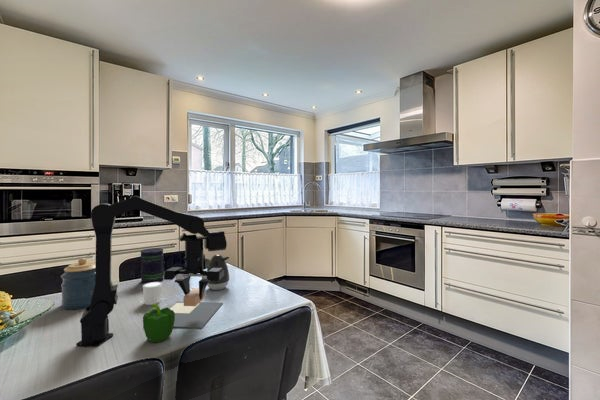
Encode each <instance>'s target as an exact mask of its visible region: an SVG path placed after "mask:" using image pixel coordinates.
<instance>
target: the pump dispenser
mask: <svg viewBox="0 0 600 400" xmlns="http://www.w3.org/2000/svg"><path fill="white" fill-rule="evenodd" d="M229 259H230V256H225V257H224V256H223V255H222V254H214V255H213V256H212V257H211V258H210V259H209V260H210V265H209V269H206V271H209V270H210V269H212V268H223V270H224V276H223V277H222V278H221V279H220V280H218V281H209V282H208V284H207V286H206V287H208V289H210V290H213V291H220V290H223V289H225V288H226V287H227V286H228V284H229V281H230V272H229V271H230V270H229V267H228V265H227V262H226V261H228V260H229Z"/></svg>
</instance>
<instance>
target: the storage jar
mask: <svg viewBox="0 0 600 400" xmlns="http://www.w3.org/2000/svg"><path fill="white" fill-rule="evenodd" d="M140 264H141V270H140V280H141V281H140V283H141V284H142V285H144V284H147V283H151V282H161V281H162V282H163V281H165V280H164V272H165V271H164V249H163V248H160V247H158V248H155V247H154V248H153V247H152V248H144V249H141V250H140ZM162 282H161V283H162Z"/></svg>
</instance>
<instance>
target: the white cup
mask: <svg viewBox="0 0 600 400" xmlns="http://www.w3.org/2000/svg"><path fill="white" fill-rule="evenodd" d="M162 287H163V282H151V283H147V284H142V292H143V300H144V301H143V302H144V304H145V305H148V306H151V304H157V305H158V304H159V303H160V302H162V289H163V288H162Z"/></svg>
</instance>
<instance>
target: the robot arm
mask: <svg viewBox="0 0 600 400" xmlns="http://www.w3.org/2000/svg"><path fill="white" fill-rule="evenodd" d="M135 210H136V211H140V212H142V213H145V214H147V215H149V216H150V215H151V216H153V217H156V218H159V219H161V220H165V221H167V222H170V223H173V224H175V225H176V226H178V227H180V228H181V229H183V230H184V231H187V232H188V233H190V234H186V233H185V232H183V233H182V235H180V236H179V237H178V240H179V242H184V249H185V250H184V255H185V256H184V257H183V261H184V263H185V264H184V265H185V267H184V268H185V269H184V268H183V267H182V266H175V267H174V266H173V267H170V268H168V269H166V270H165V271H163V272H164V275H163V276H164V277H163V278H164V280H163V281H165V280H169V281H171V280H174V279H175V280H174V283H177V285H178V286H179V287H180V289H181V290H182V291H183V294H184V296H185V295H186V294H188V293H189V292H190V291H191V290H190V288H191V287H190V286H191V285H190V281H191V277H201V279H200V280H199V281H198V289H199V297H200V299H202V298H203V295H204V292H205V293H206V288H207V287H208V286H207V284H208V282H209V281H218V280H220V279H221V278H222V277H223V276H224V270H223V268H212V269H210V270H209V271H207V269H209V265H210V260H211V259H209V258H206V255H205V253H204V249H205V250H207V251H208V252H217V251H226V249H227V245H228V244H227V243H228V242H227V238H226V235H225V233H226V232H225V231H224V230H217V231H209V230H208V229H207V228H206V227H205V222H204V220H203V218H201V217H200V216H198V215H194V214H190V213H184V212H179V211H176V210H172V209H170V208H167V207H165V206H163V205H159V204H157V203H155V202H151V201H149V200H147V199H144V198H142V197H140V196H138V195H134V196H131V197H130V198H127V199H123V200H121V201H117V202H115V203H111V204H110V203H107V202H105V203H100V204H98V205H96V206H93V208H92V209H91V212H90V218H91V225H92V227H93V232H94V234H95V262H96V266H95V287H94V291H93V295H92V299H91V303H90V305H89V306H88V307H86V308H84V311H83V313H82V316H81V317H80V320H79V323H80V329H81V330H80V333H81V338H80V339H81V340H80V341H77V343H76V346H78V347H79V346H83V347H98V346H101V345H102V344H103V343H105V342H106V341H107V340H109V339H110V338H112V337H113V336H114V332H113V333H112V332H110V327H109V326H110V325H109V324H110V323H109V314H111V313H112V312H113V310H114V307H115V305H117V304H118V298H119V295H118V294H117V291H118V286H119V285H118V284H114V285H113V281H112V242H113V241H112V240H113V239H112V235H113V231H114V225H115V223H116V217H119V216H122V215H124V214H126V213H128V212H131V211H135ZM197 234H199V235H201V236H197Z"/></svg>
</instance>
